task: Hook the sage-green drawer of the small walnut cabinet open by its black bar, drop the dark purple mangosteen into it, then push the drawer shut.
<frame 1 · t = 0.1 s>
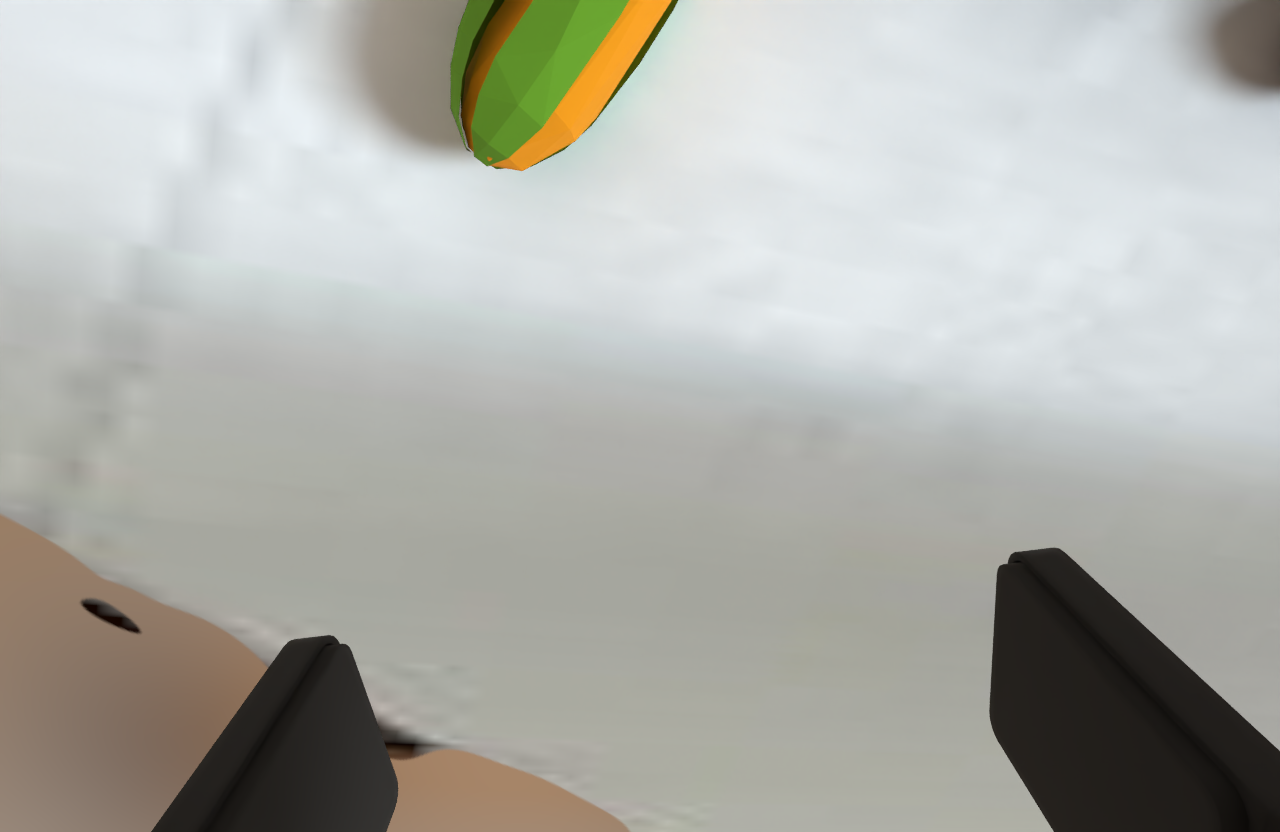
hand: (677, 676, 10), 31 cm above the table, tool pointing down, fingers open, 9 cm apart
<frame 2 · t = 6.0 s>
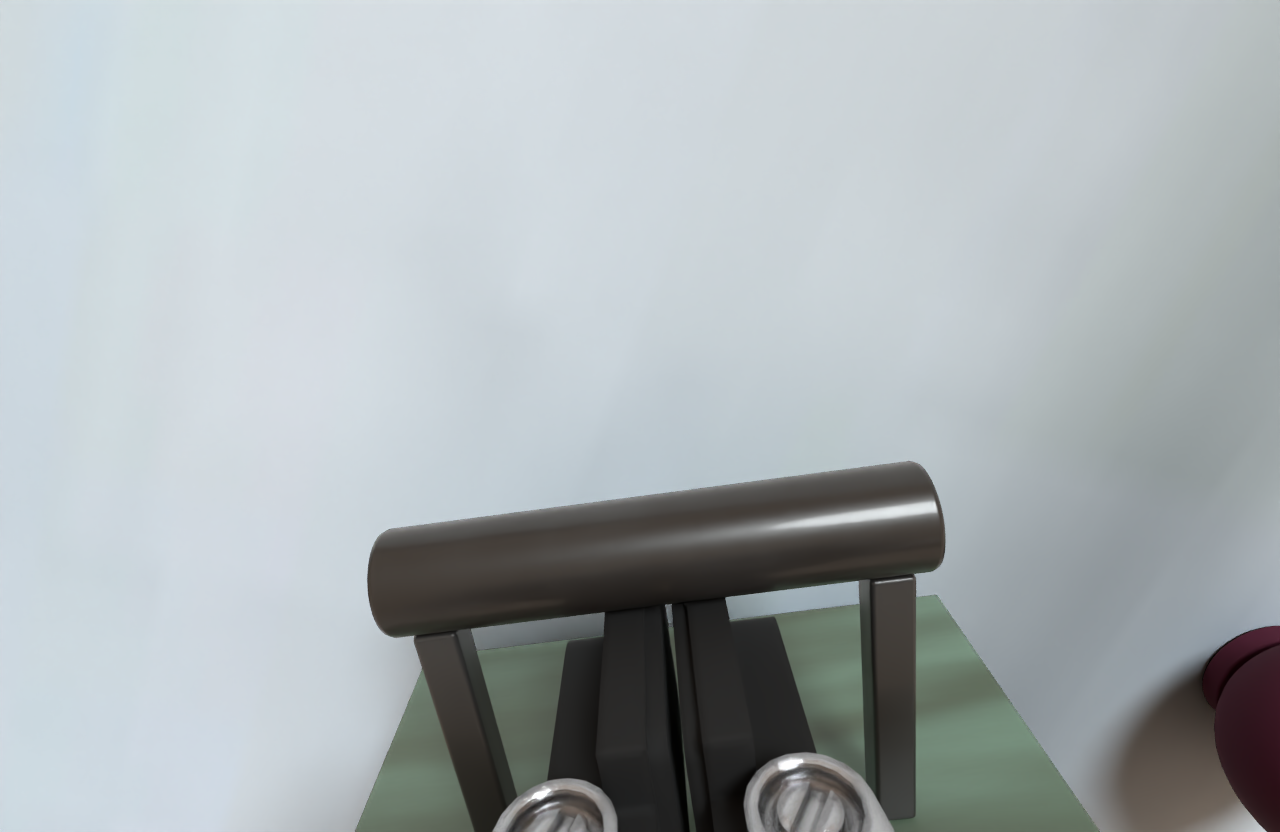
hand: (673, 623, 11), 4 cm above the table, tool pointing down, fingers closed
mangosteen: (1259, 671, 17), on the table
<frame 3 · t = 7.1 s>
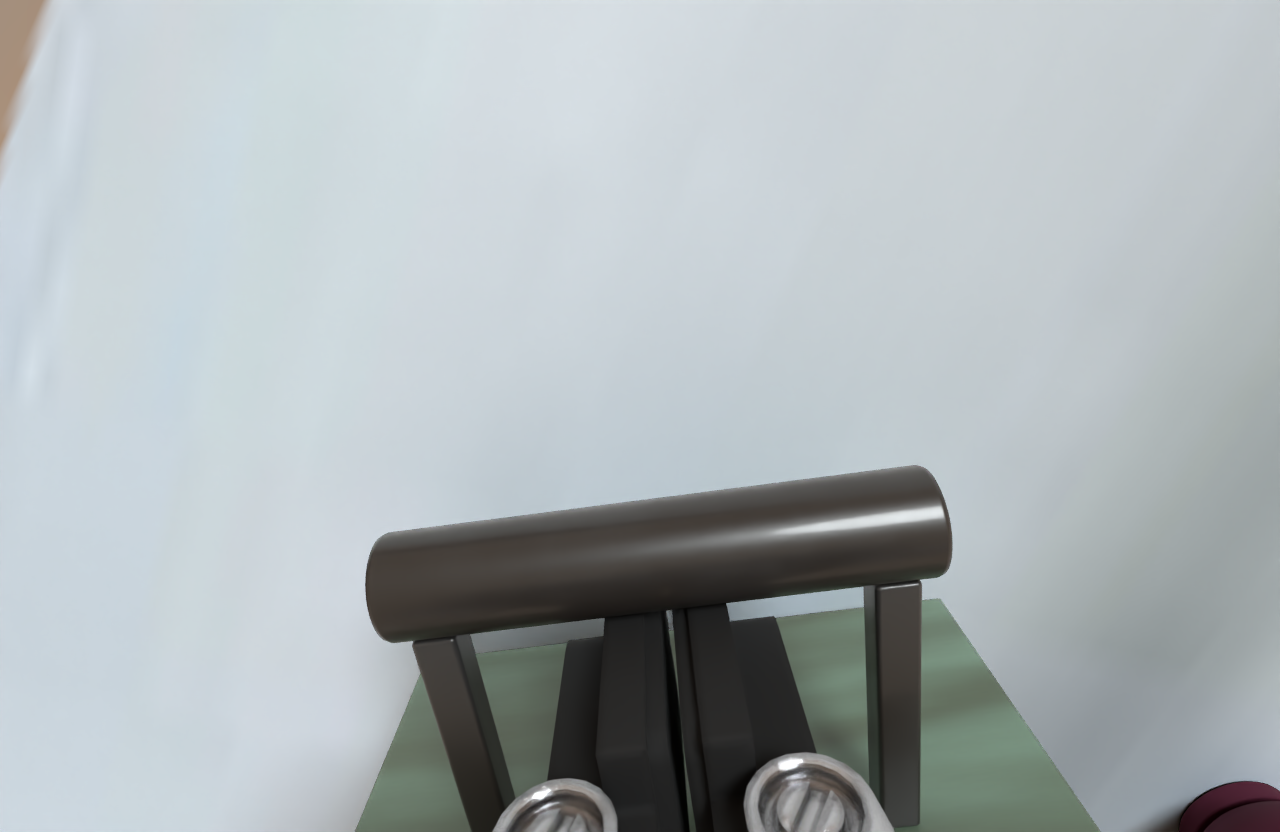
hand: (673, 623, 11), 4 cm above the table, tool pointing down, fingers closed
mangosteen: (1231, 818, 18), on the table
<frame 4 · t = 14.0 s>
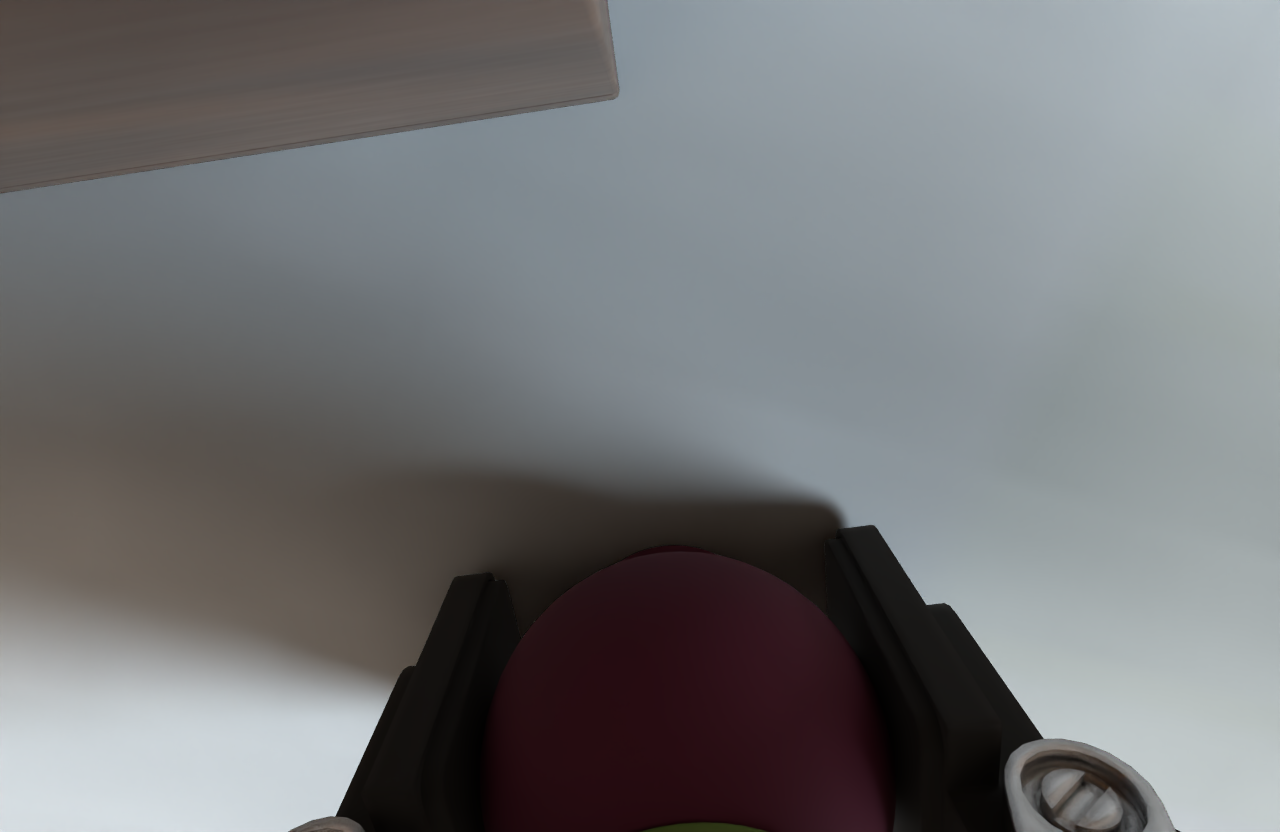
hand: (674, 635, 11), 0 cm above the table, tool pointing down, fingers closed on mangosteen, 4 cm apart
mangosteen: (672, 618, 11), on the table, touching gripper
when the fingers open (9 cm above the table, at t = 18.6 s): mangosteen drops 3 cm and tips over, resting on drawer.
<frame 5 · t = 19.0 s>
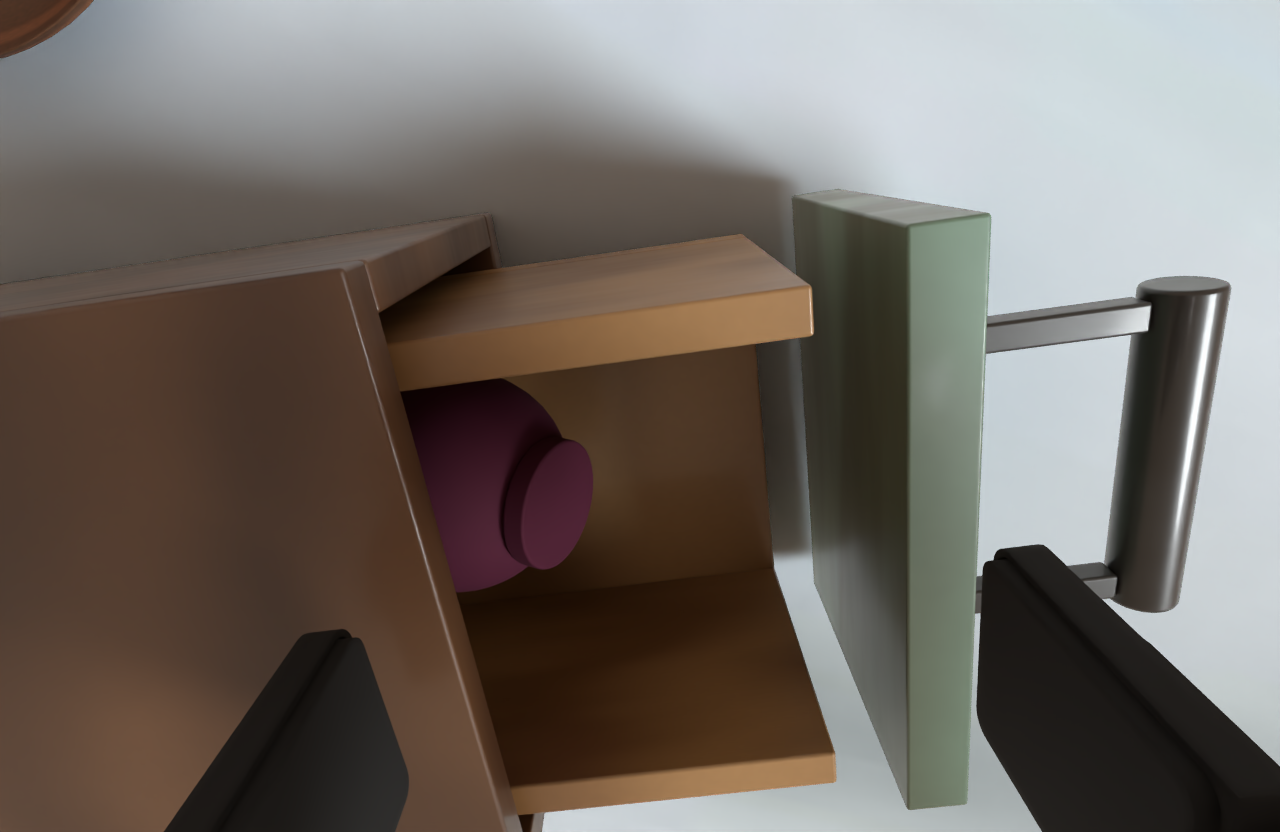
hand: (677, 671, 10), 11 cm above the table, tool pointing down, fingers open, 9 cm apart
mangosteen: (561, 505, 15), point 6 cm above the table, tilted 116°, touching drawer
drawer: (722, 485, 15), point 5 cm above the table, slide at 7.6 cm, touching mangosteen
cabinet: (297, 464, 20), on the table
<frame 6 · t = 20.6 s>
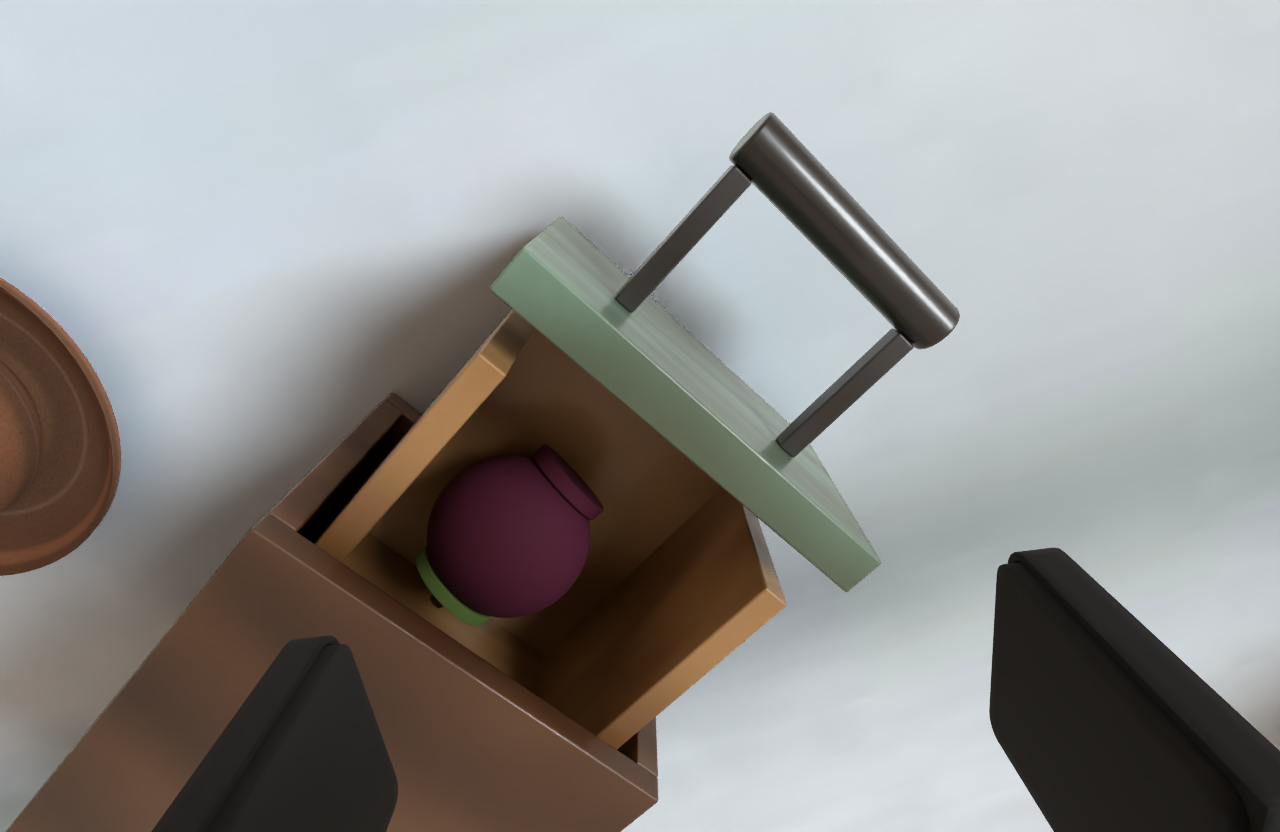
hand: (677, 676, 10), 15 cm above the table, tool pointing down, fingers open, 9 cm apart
mangosteen: (574, 476, 21), point 4 cm above the table, tilted 75°, touching drawer
drawer: (611, 462, 20), point 5 cm above the table, slide at 7.6 cm, touching mangosteen
cabinet: (416, 615, 28), on the table
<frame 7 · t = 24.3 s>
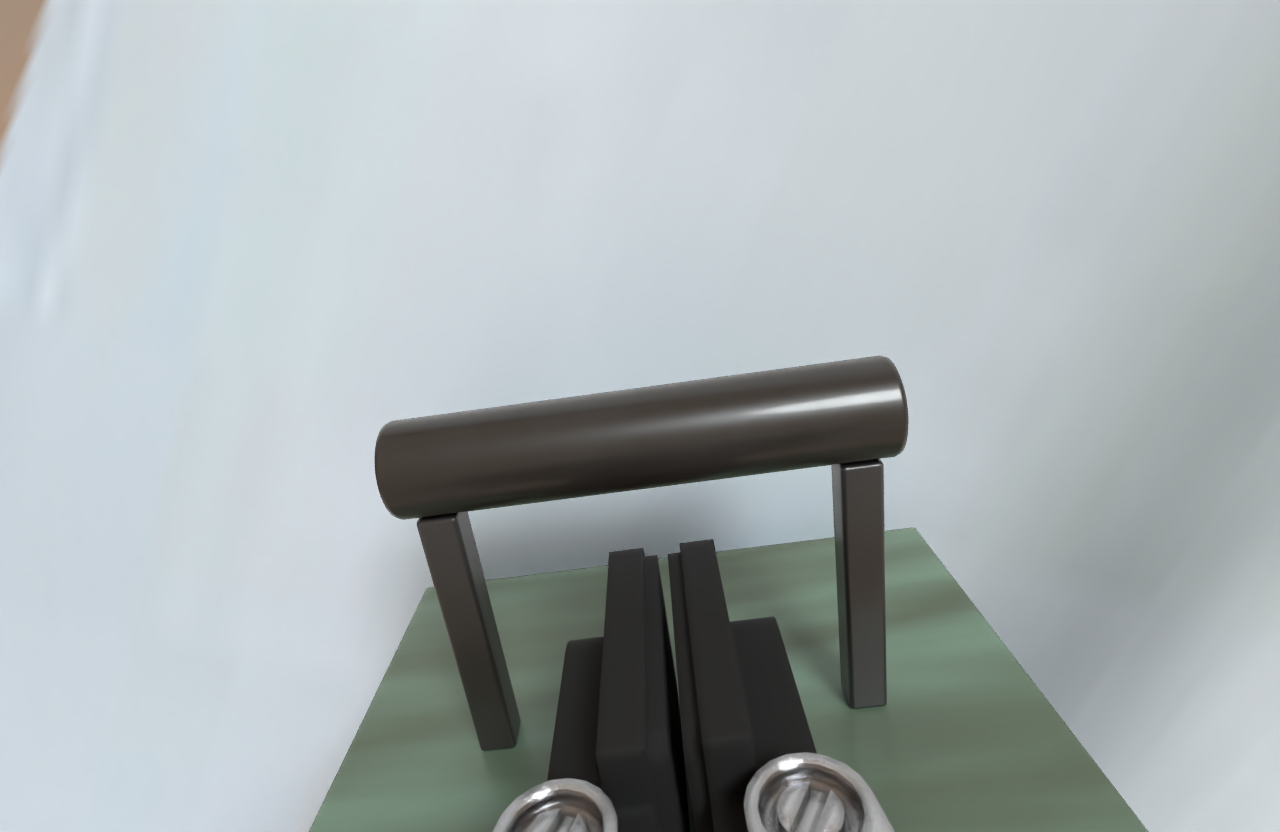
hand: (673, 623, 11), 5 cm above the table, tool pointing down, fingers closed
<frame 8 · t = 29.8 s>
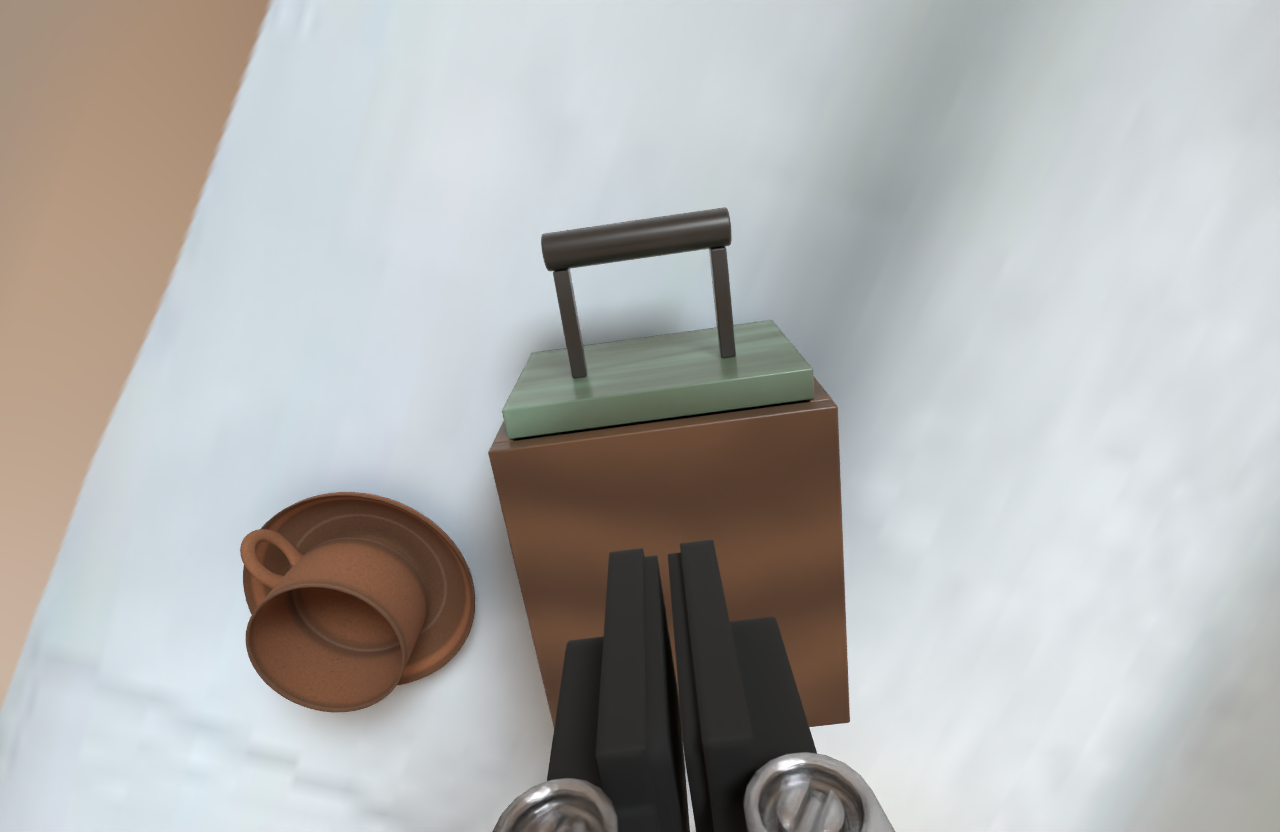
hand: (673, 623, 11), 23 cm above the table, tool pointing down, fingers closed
cup and saucer: (374, 573, 38), on the table
drawer: (664, 444, 30), point 5 cm above the table, slide at 0.0 cm, touching mangosteen
cabinet: (672, 488, 36), on the table
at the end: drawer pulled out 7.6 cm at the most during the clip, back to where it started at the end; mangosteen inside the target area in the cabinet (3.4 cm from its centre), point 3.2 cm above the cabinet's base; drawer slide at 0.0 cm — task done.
